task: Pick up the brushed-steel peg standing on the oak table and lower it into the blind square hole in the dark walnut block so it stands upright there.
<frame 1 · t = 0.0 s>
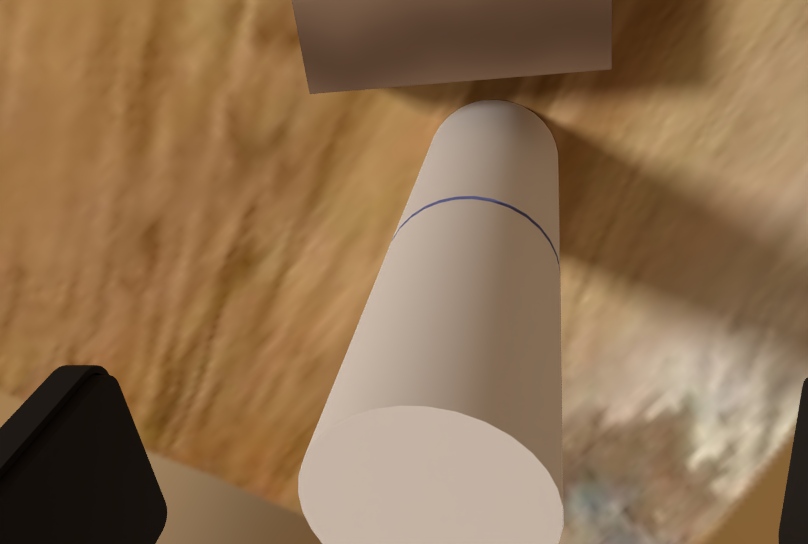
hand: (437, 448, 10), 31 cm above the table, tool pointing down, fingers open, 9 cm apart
cylindrical container: (492, 161, 41), on the table
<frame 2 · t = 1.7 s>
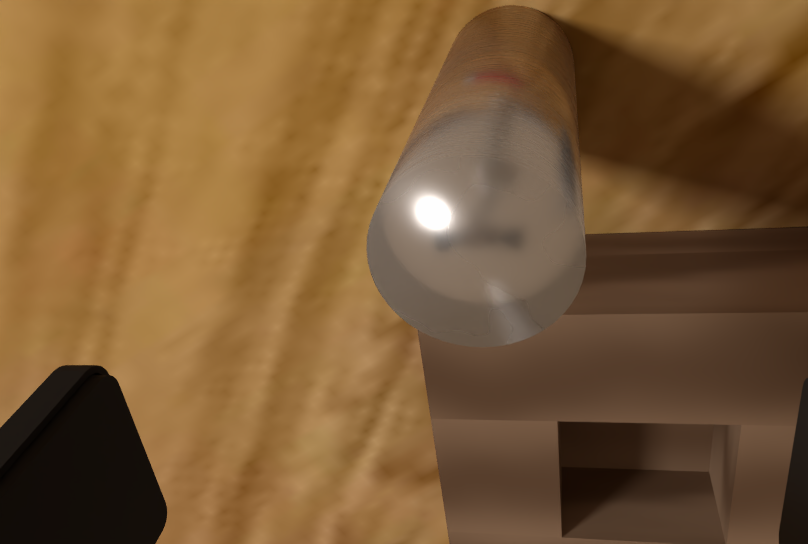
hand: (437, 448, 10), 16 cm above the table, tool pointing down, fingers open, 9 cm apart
walnut socket block: (632, 389, 29), on the table
steel peg: (509, 70, 24), on the table
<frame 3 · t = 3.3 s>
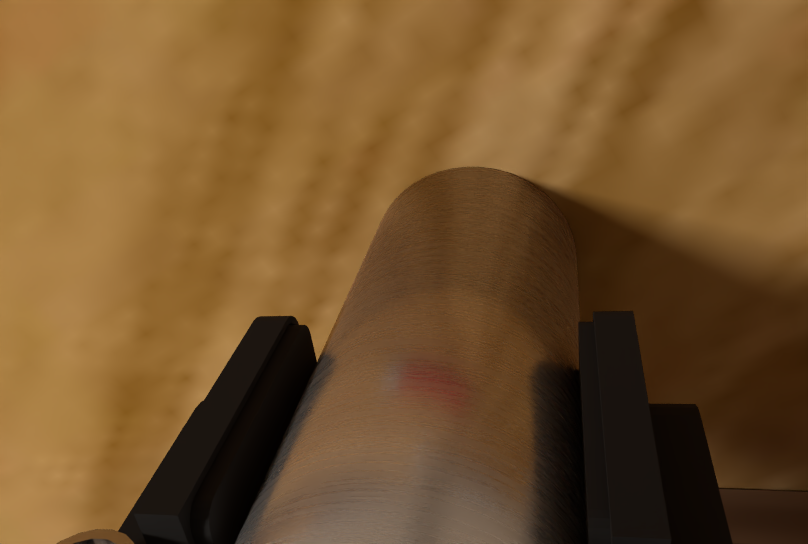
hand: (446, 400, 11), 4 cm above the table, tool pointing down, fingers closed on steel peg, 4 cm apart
steel peg: (473, 261, 15), on the table, touching gripper
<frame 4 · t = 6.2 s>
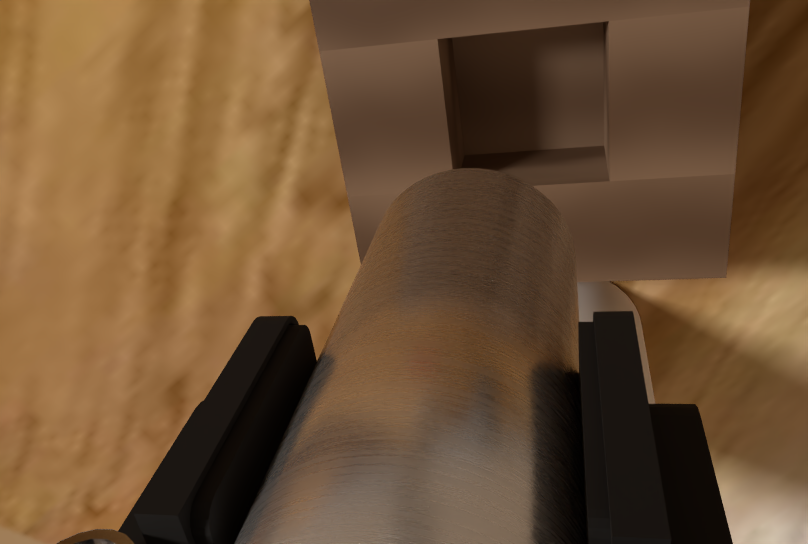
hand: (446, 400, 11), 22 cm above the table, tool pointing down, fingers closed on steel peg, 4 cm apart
cylindrical container: (565, 331, 36), on the table
walnut socket block: (530, 71, 30), on the table
steel peg: (472, 262, 15), point 18 cm above the table, touching gripper
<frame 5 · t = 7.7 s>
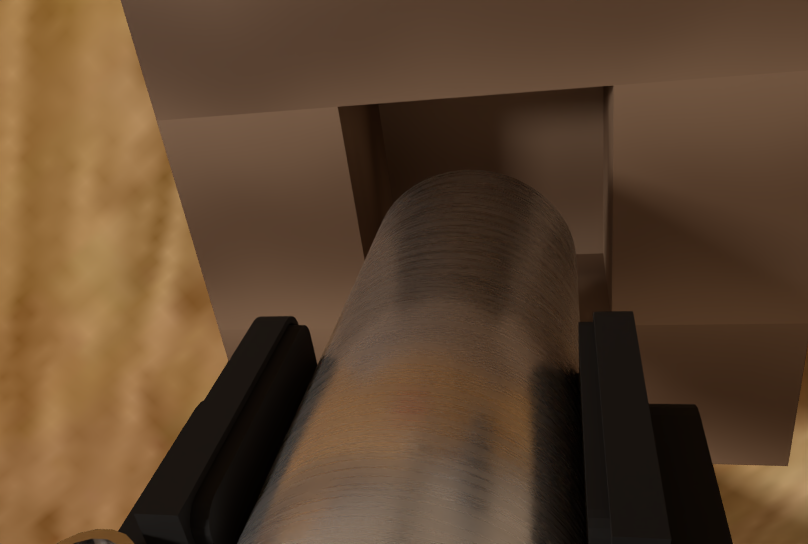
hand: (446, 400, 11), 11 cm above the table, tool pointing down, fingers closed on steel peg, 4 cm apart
walnut socket block: (496, 142, 21), on the table
steel peg: (473, 263, 15), point 7 cm above the table, touching gripper
when the fingers open (7 cm above the table, at t = 8.9 s): steel peg stays where it is, resting on walnut socket block.
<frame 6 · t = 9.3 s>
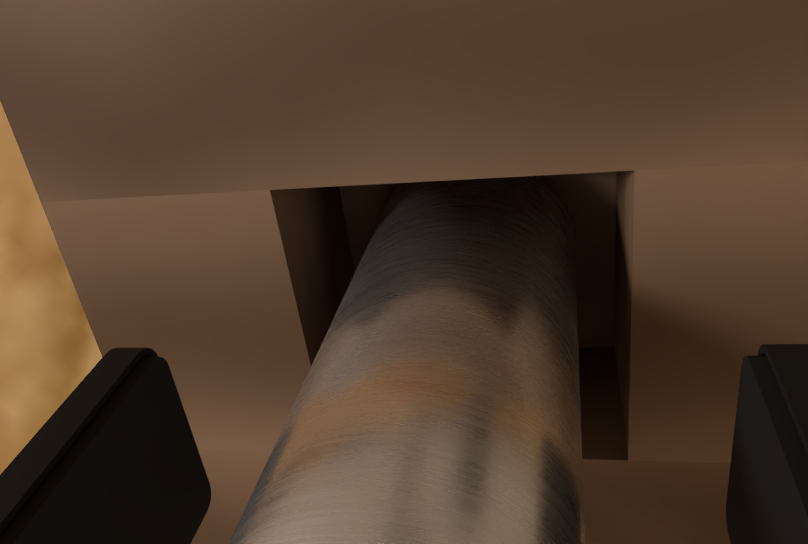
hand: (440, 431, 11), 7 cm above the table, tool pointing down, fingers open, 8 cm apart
walnut socket block: (483, 208, 17), on the table
steel peg: (476, 237, 16), point 2 cm above the table, touching walnut socket block
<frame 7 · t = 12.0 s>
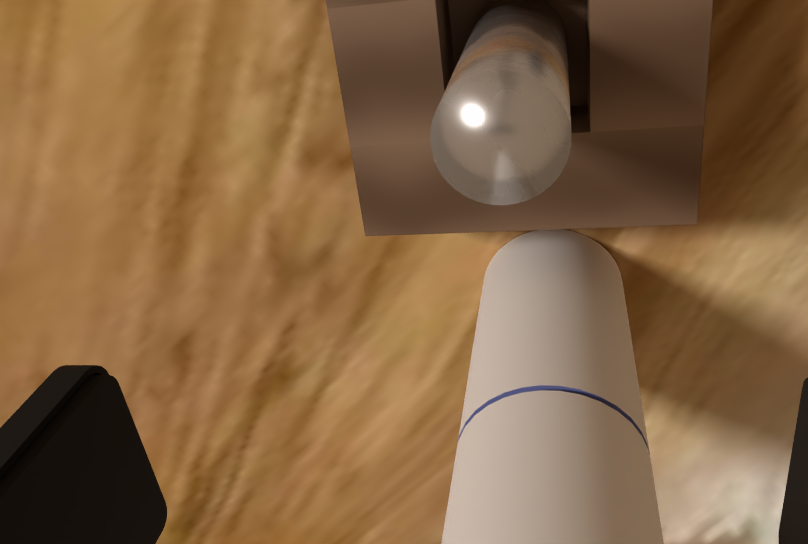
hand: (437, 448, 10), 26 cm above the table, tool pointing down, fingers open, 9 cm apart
cylindrical container: (551, 288, 39), on the table
walnut socket block: (519, 37, 33), on the table
steel peg: (518, 44, 31), point 2 cm above the table, touching walnut socket block
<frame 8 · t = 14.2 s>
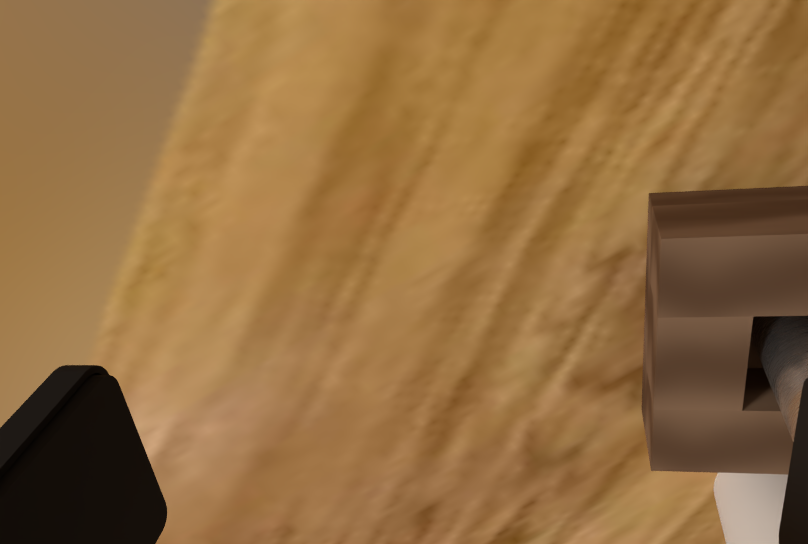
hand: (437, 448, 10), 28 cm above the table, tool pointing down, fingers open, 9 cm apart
cylindrical container: (775, 485, 45), on the table
walnut socket block: (783, 308, 39), on the table
steel peg: (790, 323, 38), point 2 cm above the table, touching walnut socket block
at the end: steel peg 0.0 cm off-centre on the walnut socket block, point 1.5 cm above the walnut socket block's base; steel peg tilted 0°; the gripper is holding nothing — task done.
